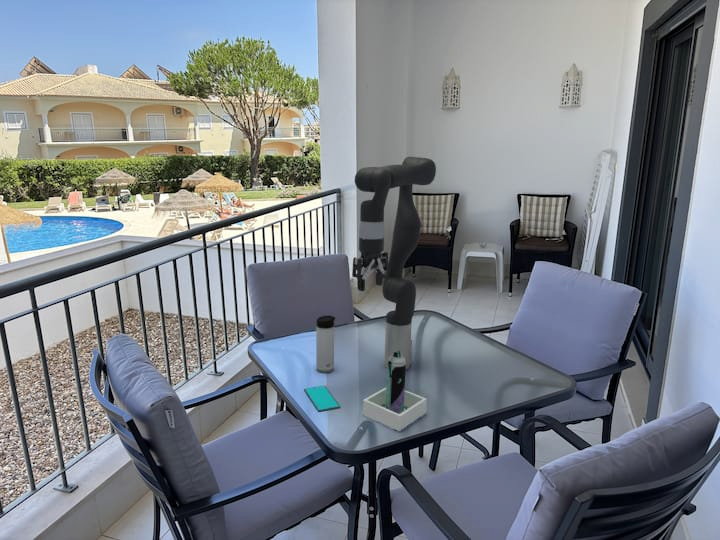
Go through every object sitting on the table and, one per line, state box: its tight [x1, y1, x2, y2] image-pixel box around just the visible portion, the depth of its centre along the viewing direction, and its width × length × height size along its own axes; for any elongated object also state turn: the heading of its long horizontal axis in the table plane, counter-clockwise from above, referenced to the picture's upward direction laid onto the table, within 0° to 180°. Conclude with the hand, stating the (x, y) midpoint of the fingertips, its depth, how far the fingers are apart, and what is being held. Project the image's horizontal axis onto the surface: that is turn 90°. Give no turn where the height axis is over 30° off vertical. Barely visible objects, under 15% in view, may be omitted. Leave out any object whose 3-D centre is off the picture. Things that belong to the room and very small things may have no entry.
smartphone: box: [303, 385, 341, 413], centre depth 161 cm, size 7×1×15 cm
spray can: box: [385, 351, 407, 414], centre depth 150 cm, size 6×6×20 cm
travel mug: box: [315, 315, 336, 374], centre depth 179 cm, size 6×7×20 cm
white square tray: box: [362, 387, 428, 430], centre depth 152 cm, size 14×14×5 cm
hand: (370, 287), depth 155 cm, fingers open, 8 cm apart
